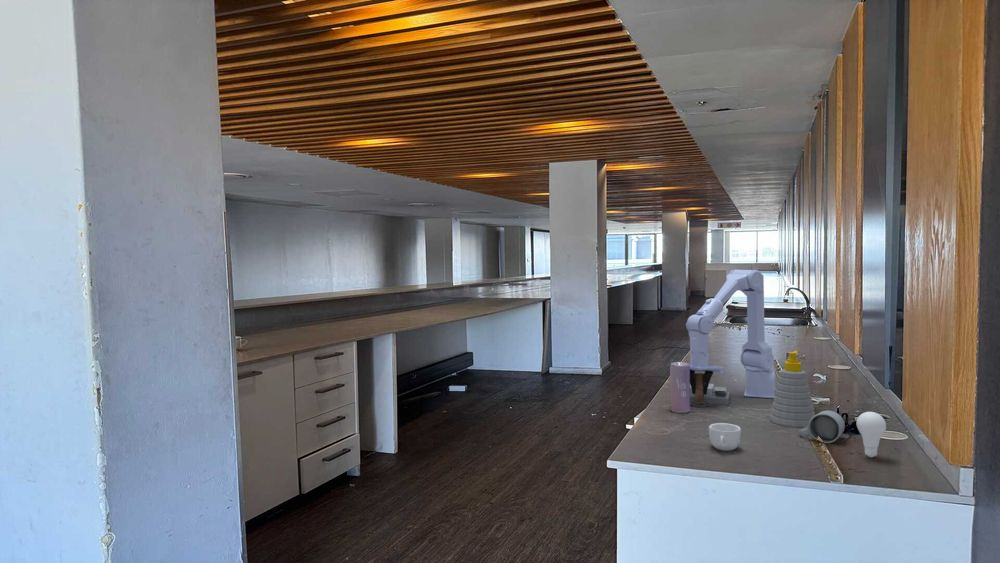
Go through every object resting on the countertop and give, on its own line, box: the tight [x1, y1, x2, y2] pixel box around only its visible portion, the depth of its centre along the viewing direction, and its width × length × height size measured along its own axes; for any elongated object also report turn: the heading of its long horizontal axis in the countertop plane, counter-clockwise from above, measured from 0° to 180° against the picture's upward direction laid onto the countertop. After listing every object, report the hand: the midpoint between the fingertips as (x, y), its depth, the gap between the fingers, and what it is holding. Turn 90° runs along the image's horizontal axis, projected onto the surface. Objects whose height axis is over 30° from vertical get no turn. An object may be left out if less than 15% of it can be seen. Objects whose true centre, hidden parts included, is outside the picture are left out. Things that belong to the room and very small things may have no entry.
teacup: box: [708, 422, 742, 452], centre depth 159 cm, size 10×8×5 cm
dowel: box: [695, 372, 704, 403], centre depth 203 cm, size 3×3×9 cm
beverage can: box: [669, 361, 691, 414], centre depth 197 cm, size 6×6×15 cm
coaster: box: [692, 402, 708, 408], centre depth 204 cm, size 5×5×1 cm
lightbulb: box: [856, 411, 887, 458], centre depth 151 cm, size 6×6×11 cm
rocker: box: [714, 386, 728, 392], centre depth 210 cm, size 4×7×1 cm, turn 157°
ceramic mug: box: [798, 410, 846, 444], centre depth 166 cm, size 11×8×8 cm
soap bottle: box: [769, 350, 816, 428], centre depth 183 cm, size 12×12×20 cm
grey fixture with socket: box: [690, 383, 731, 406], centre depth 211 cm, size 13×11×5 cm
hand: (699, 393), depth 203 cm, fingers closed on dowel, 3 cm apart
